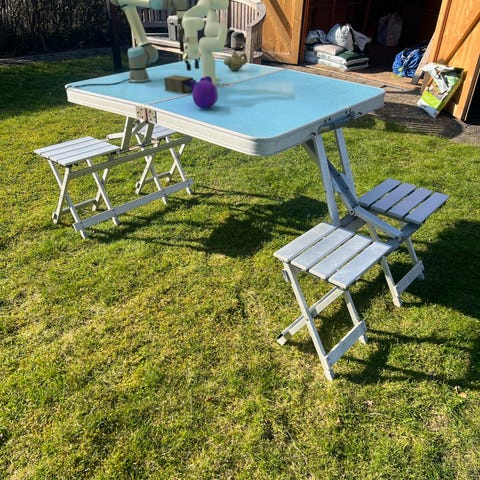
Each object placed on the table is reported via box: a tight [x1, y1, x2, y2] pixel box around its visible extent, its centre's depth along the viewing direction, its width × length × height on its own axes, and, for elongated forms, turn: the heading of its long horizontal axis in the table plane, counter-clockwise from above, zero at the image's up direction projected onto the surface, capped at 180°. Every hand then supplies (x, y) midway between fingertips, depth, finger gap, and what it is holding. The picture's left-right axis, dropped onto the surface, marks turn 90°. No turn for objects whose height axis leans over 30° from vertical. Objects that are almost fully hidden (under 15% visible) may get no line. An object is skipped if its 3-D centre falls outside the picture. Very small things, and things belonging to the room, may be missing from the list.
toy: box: [181, 76, 219, 110], centre depth 265 cm, size 16×18×27 cm
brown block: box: [163, 74, 194, 94], centre depth 307 cm, size 17×11×8 cm, turn 53°
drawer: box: [183, 79, 197, 93], centre depth 303 cm, size 21×10×6 cm, turn 53°
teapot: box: [223, 50, 248, 72], centre depth 366 cm, size 21×12×15 cm, turn 120°
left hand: (184, 50), depth 326 cm, fingers open, 13 cm apart
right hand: (193, 69), depth 294 cm, fingers open, 7 cm apart
